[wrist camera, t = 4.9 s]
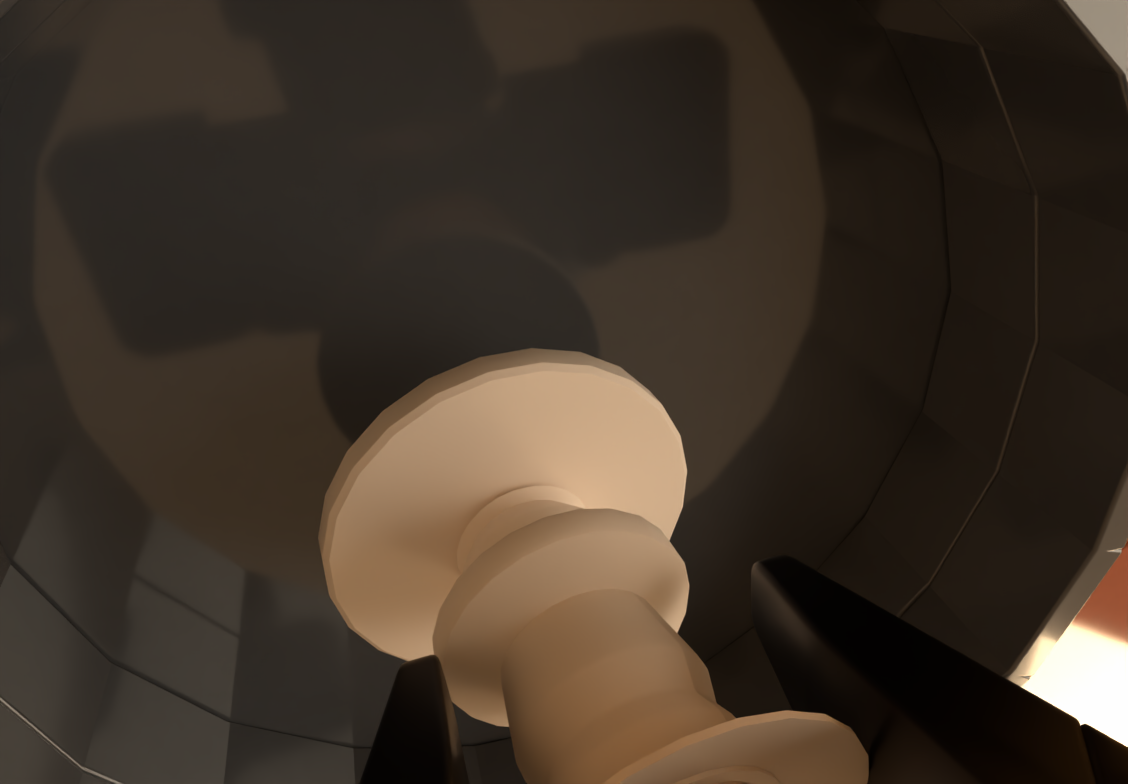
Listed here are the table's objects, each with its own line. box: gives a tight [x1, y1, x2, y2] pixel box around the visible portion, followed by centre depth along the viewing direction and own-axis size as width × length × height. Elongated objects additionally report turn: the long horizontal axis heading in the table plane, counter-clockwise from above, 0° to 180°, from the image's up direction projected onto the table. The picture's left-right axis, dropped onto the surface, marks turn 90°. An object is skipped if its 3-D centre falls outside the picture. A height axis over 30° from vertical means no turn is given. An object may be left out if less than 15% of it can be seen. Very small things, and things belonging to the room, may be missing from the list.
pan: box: [0, 0, 1128, 784], centre depth 12 cm, size 17×17×4 cm
